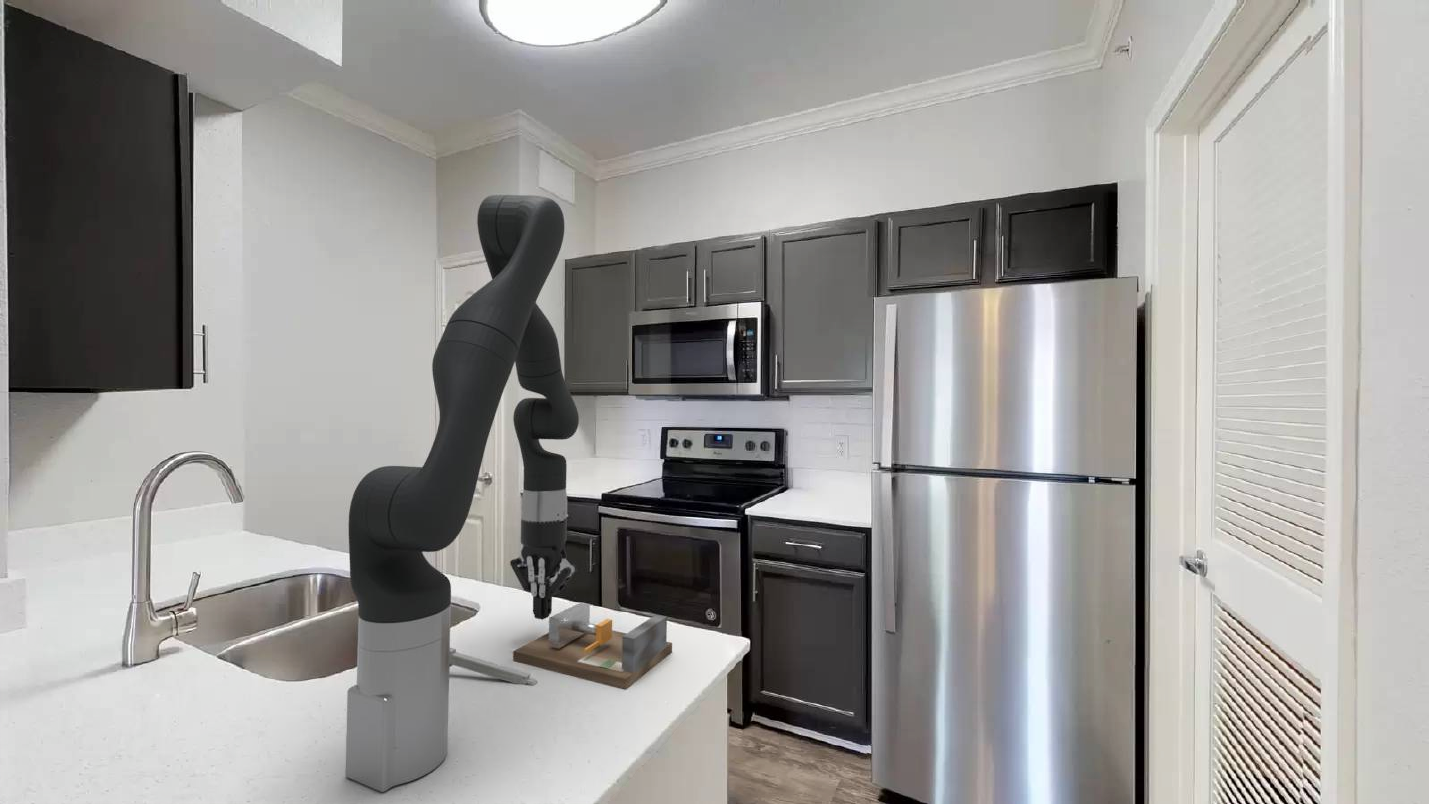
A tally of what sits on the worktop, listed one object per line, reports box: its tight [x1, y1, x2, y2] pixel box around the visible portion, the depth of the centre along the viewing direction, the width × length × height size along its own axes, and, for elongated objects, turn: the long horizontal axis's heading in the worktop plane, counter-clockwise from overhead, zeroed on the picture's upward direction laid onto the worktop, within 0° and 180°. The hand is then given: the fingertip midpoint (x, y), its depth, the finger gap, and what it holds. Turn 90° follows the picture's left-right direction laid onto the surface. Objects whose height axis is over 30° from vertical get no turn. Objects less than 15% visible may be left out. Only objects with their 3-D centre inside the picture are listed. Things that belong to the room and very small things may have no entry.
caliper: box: [449, 646, 538, 686], centre depth 85 cm, size 20×1×6 cm, turn 81°
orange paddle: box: [584, 618, 613, 654], centre depth 90 cm, size 6×1×3 cm, turn 156°
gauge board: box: [512, 614, 673, 690], centre depth 92 cm, size 14×21×6 cm, turn 66°
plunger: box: [548, 602, 597, 648], centre depth 94 cm, size 8×7×4 cm
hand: (542, 617), depth 97 cm, fingers closed
